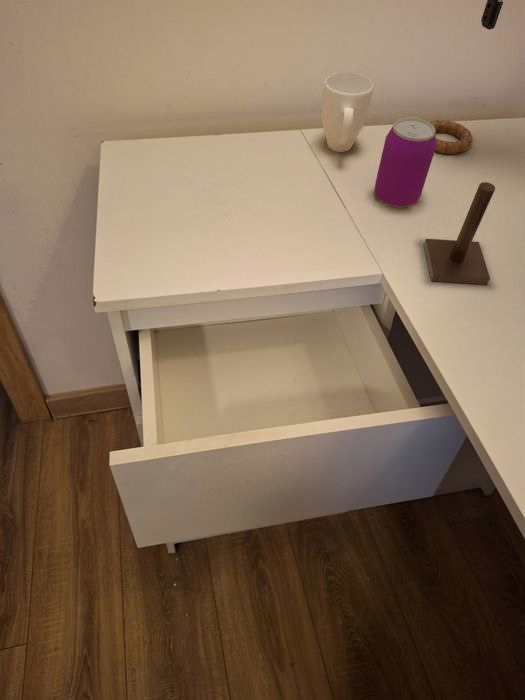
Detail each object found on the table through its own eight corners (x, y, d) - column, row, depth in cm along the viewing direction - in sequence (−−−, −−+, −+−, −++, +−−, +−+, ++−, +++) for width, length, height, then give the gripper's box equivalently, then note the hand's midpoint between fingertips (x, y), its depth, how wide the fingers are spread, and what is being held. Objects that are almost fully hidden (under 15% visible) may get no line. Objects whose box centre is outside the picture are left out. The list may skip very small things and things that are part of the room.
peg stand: (476, 247, 78) (511, 170, 68) (487, 284, 73) (527, 207, 63) (423, 244, 78) (450, 167, 68) (431, 281, 74) (461, 203, 63)
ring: (464, 129, 100) (468, 119, 99) (474, 156, 94) (478, 146, 93) (415, 127, 100) (418, 117, 99) (422, 153, 94) (425, 143, 93)
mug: (317, 132, 98) (324, 70, 89) (360, 135, 98) (372, 72, 89) (316, 168, 91) (324, 103, 82) (363, 171, 90) (376, 107, 81)
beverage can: (378, 178, 89) (394, 110, 80) (422, 189, 87) (444, 121, 78) (368, 203, 84) (383, 134, 75) (414, 215, 83) (436, 146, 74)
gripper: (537, -105, 63) (488, 40, 76) (622, -112, 67) (561, 27, 79) (497, -118, 67) (457, 21, 80) (579, -124, 71) (528, 10, 84)
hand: (509, 24), depth 80 cm, fingers open, 8 cm apart
